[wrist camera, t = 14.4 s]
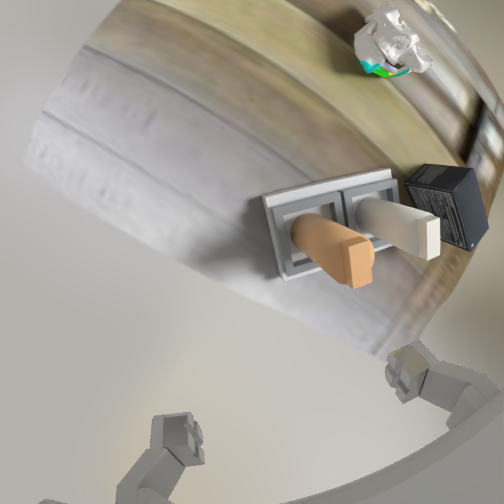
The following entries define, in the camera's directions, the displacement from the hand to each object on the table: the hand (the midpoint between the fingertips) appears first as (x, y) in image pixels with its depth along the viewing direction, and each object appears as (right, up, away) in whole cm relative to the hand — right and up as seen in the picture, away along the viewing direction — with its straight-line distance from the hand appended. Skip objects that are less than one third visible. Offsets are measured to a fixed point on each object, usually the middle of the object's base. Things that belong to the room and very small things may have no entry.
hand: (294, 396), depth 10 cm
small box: (+26, +14, +29) cm, 42 cm away
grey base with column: (+9, +10, +27) cm, 30 cm away
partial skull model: (+16, +35, +21) cm, 44 cm away
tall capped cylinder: (+5, +8, +25) cm, 27 cm away
